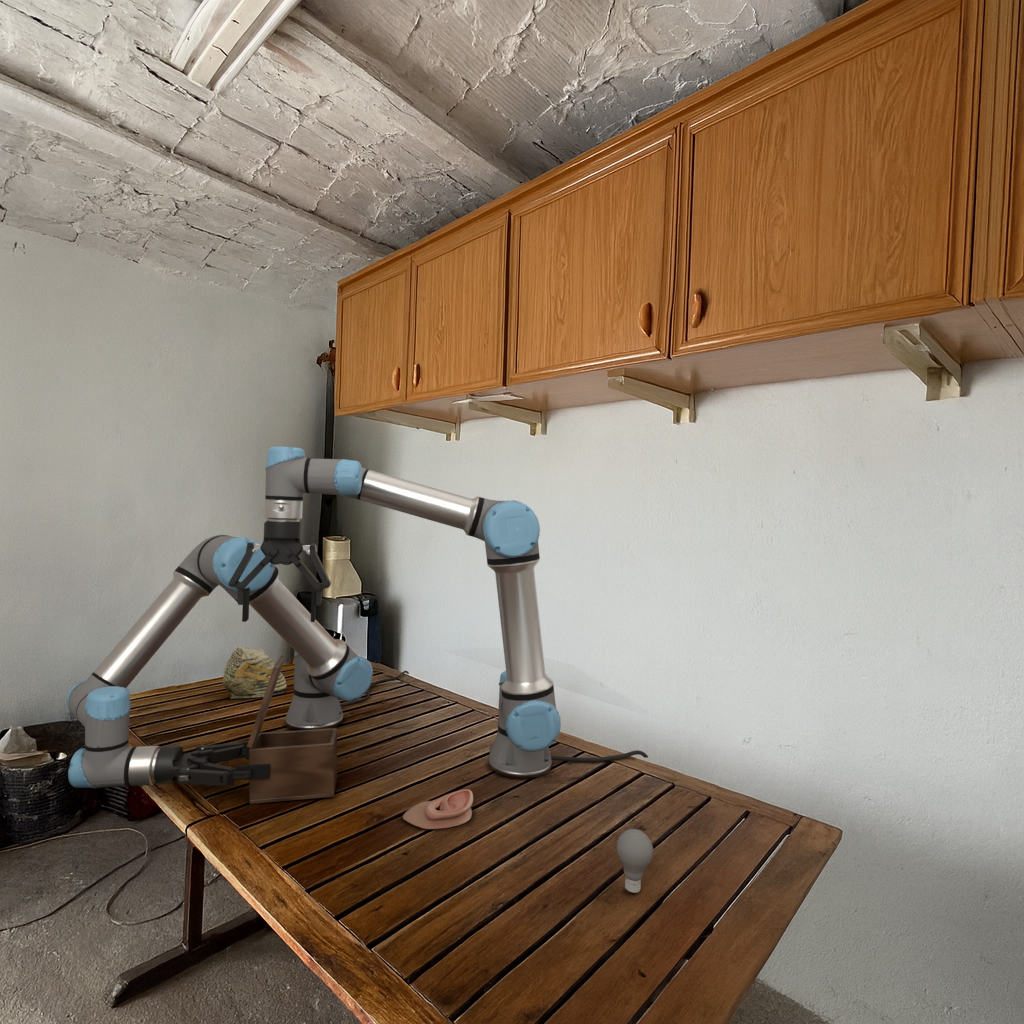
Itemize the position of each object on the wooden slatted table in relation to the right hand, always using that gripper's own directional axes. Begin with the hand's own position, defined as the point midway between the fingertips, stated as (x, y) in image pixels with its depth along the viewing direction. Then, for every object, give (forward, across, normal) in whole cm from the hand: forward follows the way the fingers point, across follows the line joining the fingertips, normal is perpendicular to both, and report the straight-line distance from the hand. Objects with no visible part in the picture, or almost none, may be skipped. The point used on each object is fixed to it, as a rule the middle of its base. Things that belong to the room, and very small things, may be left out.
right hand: (279, 620), depth 134 cm
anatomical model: (+37, +34, -14) cm, 52 cm away
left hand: (+30, 0, 0) cm, 30 cm away
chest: (+36, +4, 0) cm, 37 cm away
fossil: (+37, -16, +68) cm, 79 cm away
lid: (+17, -2, 0) cm, 17 cm away
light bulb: (+37, +64, -43) cm, 85 cm away
